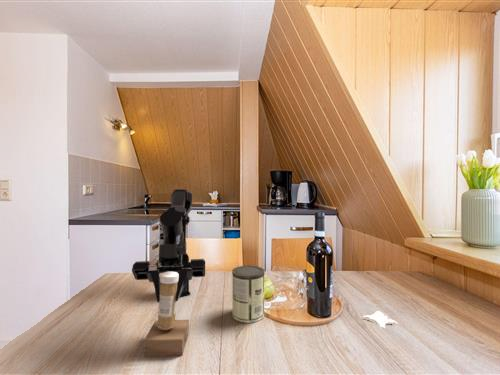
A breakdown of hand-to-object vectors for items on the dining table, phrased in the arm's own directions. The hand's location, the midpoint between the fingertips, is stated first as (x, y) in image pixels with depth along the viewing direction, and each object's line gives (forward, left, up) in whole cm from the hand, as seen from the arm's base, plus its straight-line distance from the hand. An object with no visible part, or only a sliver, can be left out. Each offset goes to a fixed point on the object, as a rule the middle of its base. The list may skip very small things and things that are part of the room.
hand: (167, 301), depth 65 cm
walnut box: (0, -1, -12) cm, 12 cm away
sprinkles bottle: (0, -1, -7) cm, 7 cm away
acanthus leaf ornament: (-58, +22, -13) cm, 63 cm away
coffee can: (-26, -3, -12) cm, 29 cm away
